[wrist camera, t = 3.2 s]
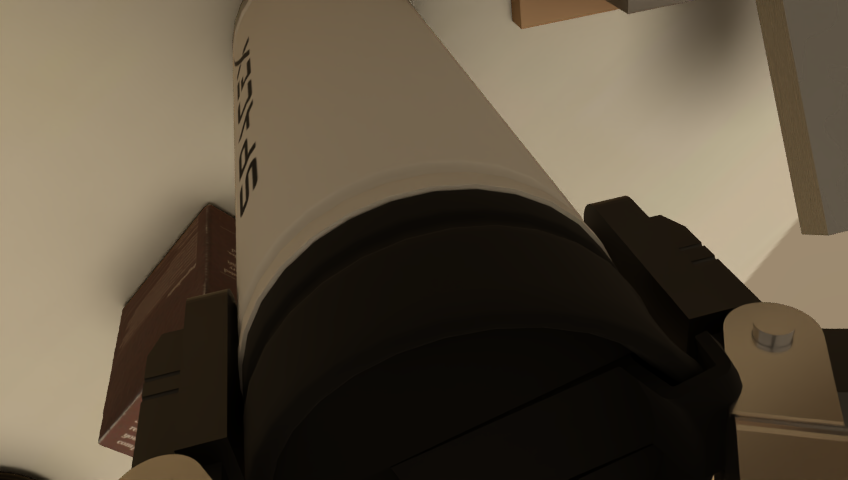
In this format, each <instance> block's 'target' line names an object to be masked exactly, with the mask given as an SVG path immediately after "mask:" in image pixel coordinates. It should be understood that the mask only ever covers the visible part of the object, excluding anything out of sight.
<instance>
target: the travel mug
mask: <svg viewBox="0 0 848 480" xmlns="http://www.w3.org/2000/svg"><path fill="white" fill-rule="evenodd" d="M233 92H234V151H235V210H236V268H237V327H238V340H239V346H238V368H239V379H240V389H241V393H242V395H243V399H244V414H243V427H244V460H245V480H712V478H713V476H714V474H715V473H717V472H719V471H721V470H723V469H725V459H726V438H725V425H726V417H727V409H728V403H730V402H734V401H736V400H737V399H738V398H739V396H740V395H741V392H742V388H743V384H742V381H741V379H740V376H739V373H738V371H737V369H736V368H735V366H734V365H733V363H732V361H731V360H730V358H729V357H728V355H727V354H726V352H725V351H724V349H723V347H722V346H721V344H720V343H719V342H718V341H717V340H716V339H715V338H714V337H713V336H712V335H711V334H710V333H708V332H707V331H704V332H702V333H700V334H698V335H696V336H695V339H696V342H697V345H698V348H699V351H700V354H701V357H702V360H703V364H704V367H705V370H706V371H704V369H703V368H702V366H701V364H700V363H698V362H697V361H696V360H694V359H693V358H692V357H690V356H689V355H688V354H686V353H685V352H684V351H682V350H681V349H680V348H679V347H678V346H676V345H675V344H674V343H673V342H672V341H671V340H670V339H669V338H668V337H667V335H666V334H665V333H664V332H663V331H662V329H661V328H660V327H659V326H658V325H657V323H656V322H655V321H654V319H653V318H652V317H651V315H650V314H649V312H648V310H647V308H646V306H645V305H644V303H643V301H642V299H641V297H640V296H639V295H638V294H637V292H636V291H635V290H634V288H633V287H632V286H631V285H630V284H629V283H628V282H627V281H626V279H625V278H624V277H623V276H622V275H621V274H620V273H619V272H618V270H617V268H616V266H615V264H614V263H613V262H612V260H611V258H610V256H609V255H608V253H607V251H606V249H605V247H604V245H603V244H602V242H601V241H600V240H599V238H598V237H597V236H596V235H595V233H594V232H593V231H592V230H591V229H590V228H589V227H588V226H587V225H586V224H585V223H584V221H583V219H582V218H581V216H580V215H579V213H578V212H577V211H576V210H575V208H574V207H573V206H572V205H571V203H570V202H569V201H568V200H567V198H566V197H565V196H564V195H563V193H562V192H561V191H560V190H559V188H558V187H557V186H556V185H555V183H554V182H553V181H552V180H551V178H550V177H549V176H548V175H547V173H546V172H545V171H544V170H543V168H542V167H541V166H540V165H539V163H538V162H537V161H536V160H535V158H534V157H533V156H532V155H531V153H530V152H529V151H528V150H527V148H526V147H525V146H524V145H523V143H522V142H521V141H520V140H519V138H518V137H517V136H516V135H515V133H514V132H513V131H512V130H511V128H510V127H509V126H508V125H507V123H506V122H505V121H504V120H503V119H502V117H501V116H500V115H499V114H498V112H497V111H496V110H495V109H494V107H493V106H492V105H491V104H490V102H489V101H488V100H487V99H486V97H485V96H484V95H483V94H482V92H481V91H480V90H479V89H478V87H477V86H476V85H475V84H474V82H473V81H472V80H471V79H470V77H469V76H468V75H467V74H466V72H465V71H464V70H463V69H462V67H461V66H460V65H459V64H458V62H457V61H456V60H455V59H454V57H453V56H452V55H451V54H450V52H449V51H448V50H447V49H446V47H445V46H444V45H443V44H442V42H441V41H440V40H439V39H438V37H437V36H436V35H435V34H434V32H433V31H432V30H431V29H430V27H429V26H428V25H427V24H426V22H425V21H424V20H423V19H422V17H421V16H420V15H419V14H418V12H417V11H416V10H415V9H414V7H413V6H412V5H411V4H410V2H409V1H408V0H243V2H242V4H241V6H240V9H239V12H238V15H237V18H236V21H235V26H234V33H233Z"/></svg>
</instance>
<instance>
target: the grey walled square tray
mask: <svg viewBox="0 0 848 480" xmlns="http://www.w3.org/2000/svg"><path fill="white" fill-rule="evenodd" d="M688 1H693V0H511V4H512V19H513V22H514V23H515V24H516V25H518V26H519V27H520V28H521V29H524V28H529V27H534V26H539V25H543V24H548V23H553V22H558V21H563V20H568V19H573V18H578V17H582V16H587V15H592V14H597V13H602V12H607V11H612V10H616V9H621V10H622V11H624V12H626V13H627V14H630V13H635V12H640V11H645V10H650V9H654V8H659V7H664V6H669V5H674V4H679V3H683V2H688Z"/></svg>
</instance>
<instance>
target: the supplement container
mask: <svg viewBox="0 0 848 480" xmlns="http://www.w3.org/2000/svg"><path fill="white" fill-rule="evenodd" d="M0 480H35V479H33V478H30V477H27V476H24V475H19V474H15V473H8V472H0Z"/></svg>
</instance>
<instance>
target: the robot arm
mask: <svg viewBox="0 0 848 480" xmlns="http://www.w3.org/2000/svg"><path fill="white" fill-rule="evenodd" d="M584 223H585V224H586V225H587V226H588V227H589V228H590V229H591V230H592V231H593V232H594V233H595V235H596V236H597V237H598V238H599V240H600V241H601V242H602V244H603V245H604V247H605V249H606V251H607V253H608V255H609V256H610V258H611V260H612V262H613V263H614V264H615V266H616V268H617V270H618V272H619V273H620V274H621V275H622V276H623V277H624V278H625V279H626V281H627V282H628V283H629V284H630V285H631V286H632V287H633V288H634V290H635V291H636V292H637V294H638V295H639V296H640V297H641V299H642V301H643V303H644V305H645V306H646V308H647V310H648V312H649V314H650V315H651V317H652V318H653V319H654V321H655V322H656V323H657V325H658V326H659V327H660V328H661V329H662V331H663V332H664V333H665V334H666V335H667V337H668V338H669V339H670V340H671V341H672V342H673V343H674V344H675V345H676V346H678V347H679V348H680V349H681V350H682V351H684V352H685V353H686V354H688V355H689V356H690V357H692V358H693V359H694V360H696V361H697V362H698V363H700V364H701V366H702V368H703V369H704V371H706V370H705V367H704V364H703V360H702V357H701V354H700V351H699V348H698V345H697V342H696V339H695V336H696V335H698V334H700V333H702V332H704V331H707V332H708V333H710V334H711V335H712V336H713V337H714V338H715V339H716V340H717V341H718V342H719V343H720V344H721V346H722V347H723V349H724V351H725V352H726V354H727V355H728V357H729V358H730V360H731V361H732V363H733V365H734V366H735V368H736V369H737V371H738V373H739V376H740V379H741V381H742V384H743V388H742V392H741V395H740V396H739V398H738V399H737V400H736V401H734V402H730V403H728V409H727V417H726V425H725V438H726V459H725V469H723V470H721V471H719V472H717V473H715V474H714V476H713V478H712V480H848V329H822V328H821V327H820V325H819V324H818V323H817V322H816V321H815V320H814V319H813V318H812V317H810V316H809V315H807V314H806V313H804V312H802V311H800V310H798V309H795V308H793V307H790V306H787V305H783V304H778V303H770V302H761V301H760V300H759V299H758V298H757V297H756V296H755V295H754V294H753V293H752V292H751V291H750V290H749V289H748V288H747V287H746V286H745V285H744V284H743V283H742V282H741V281H740V280H739V279H738V278H737V277H736V276H735V275H734V274H733V273H732V272H731V271H730V270H729V269H728V268H727V267H726V266H725V265H724V264H723V263H722V262H721V261H720V260H719V259H715V255H714V254H713V253H712V252H711V251H710V250H709V249H707V248H706V247H705V246H702V244H701V242H700V241H699V240H698V239H697V238H696V237H695V236H694V235H693V234H692V233H691V232H690V231H689V230H688V229H687V228H686V227H685V226H683V225H681V224H679V223H677V222H674V221H672V220H670V219H668V218H666V217H664V216H662V215H658V216H654V217H648V216H647V215H646V214H645V213H644V212H643V211H642V209H641V208H640V207H639V206H638V205H637V204H636V203H635V202H634V201H633V200H632V199H631V198H630V197H628V196H622V197H618V198H614V199H609V200H605V201H601V202H597V203H592V204H588V205H587V206H586V207H585V210H584ZM238 346H239V340H238V327H237V304H236V301H235V298H234V295H233V293H232V291H231V290H230V289H225V290H220V291H216V292H212V293H208V294H204V295H199V296H195V297H191V298H187V300H186V306H185V318H184V329H180V330H176V331H172V332H168V333H164V334H162V335H161V336H160V338H159V339H158V341H157V342H156V344H155V345H154V347H153V348H152V350H151V351H150V353H149V354H148V356H147V361H146V369H145V376H144V380H145V383H143V390H142V402H141V404H140V411H139V418H138V425H137V433H136V440H135V447H134V454H133V461H132V468H131V470H129V471H128V472H127V473H125V474H124V475H123V476H122V477H121V478H120V479H119V480H245V460H244V427H243V414H244V399H243V395H242V393H241V389H240V379H239V368H238Z"/></svg>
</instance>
